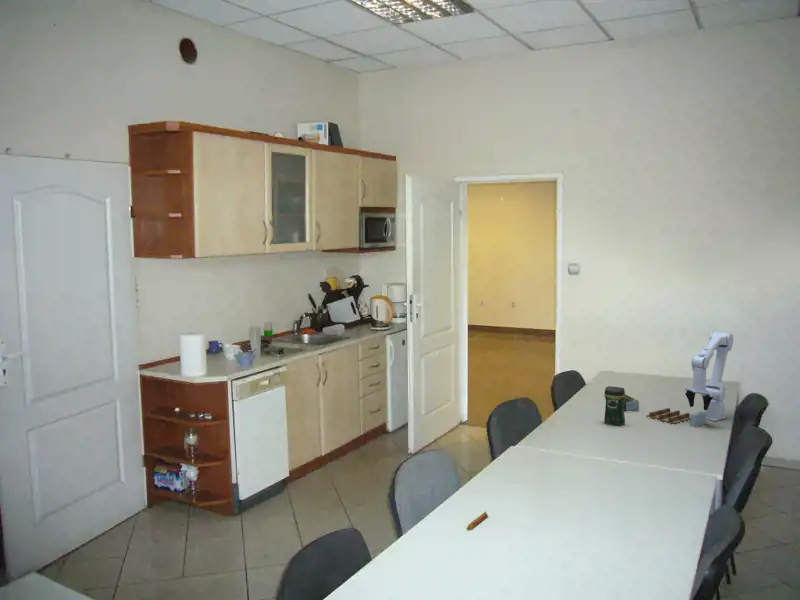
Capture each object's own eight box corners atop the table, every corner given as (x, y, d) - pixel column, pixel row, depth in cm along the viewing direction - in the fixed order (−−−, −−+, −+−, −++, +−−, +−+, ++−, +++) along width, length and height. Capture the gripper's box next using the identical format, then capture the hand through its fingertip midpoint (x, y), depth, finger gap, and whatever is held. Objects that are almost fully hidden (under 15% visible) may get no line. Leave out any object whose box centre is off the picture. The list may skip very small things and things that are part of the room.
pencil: (489, 518, 235) (489, 512, 235) (472, 531, 225) (472, 525, 225) (482, 516, 236) (482, 510, 236) (465, 529, 226) (465, 523, 226)
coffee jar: (626, 423, 341) (627, 386, 339) (621, 427, 335) (622, 389, 333) (607, 420, 347) (607, 384, 345) (602, 424, 340) (602, 387, 338)
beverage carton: (625, 412, 360) (625, 400, 359) (607, 403, 379) (607, 392, 378) (639, 411, 362) (639, 399, 361) (620, 402, 380) (620, 391, 380)
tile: (701, 423, 339) (701, 411, 339) (706, 424, 337) (706, 412, 337) (690, 426, 335) (690, 414, 334) (694, 427, 332) (695, 415, 332)
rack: (665, 412, 358) (665, 407, 358) (692, 419, 345) (692, 414, 344) (646, 417, 350) (646, 411, 350) (673, 424, 337) (673, 418, 336)
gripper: (681, 379, 338) (680, 406, 339) (708, 384, 325) (707, 412, 327) (690, 377, 341) (689, 404, 343) (717, 382, 329) (716, 410, 330)
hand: (698, 408), depth 335 cm, fingers open, 7 cm apart
